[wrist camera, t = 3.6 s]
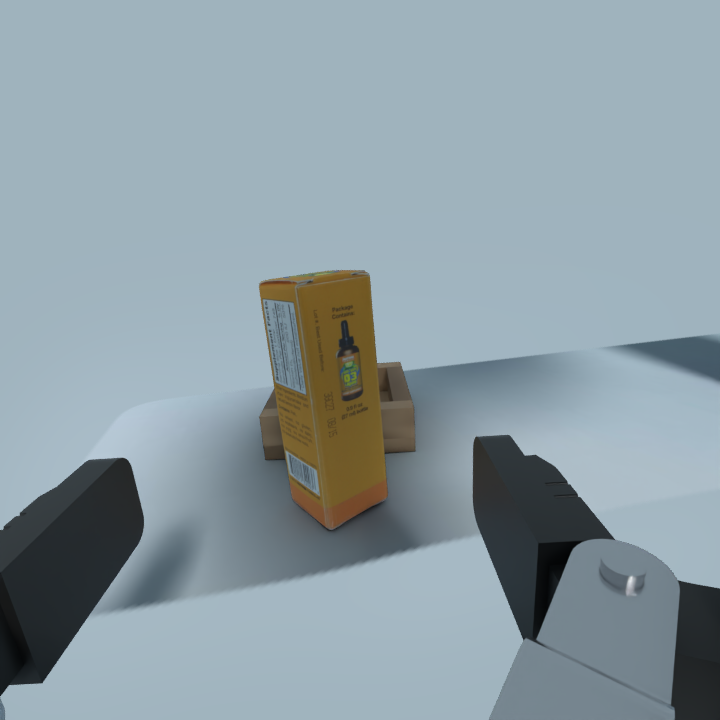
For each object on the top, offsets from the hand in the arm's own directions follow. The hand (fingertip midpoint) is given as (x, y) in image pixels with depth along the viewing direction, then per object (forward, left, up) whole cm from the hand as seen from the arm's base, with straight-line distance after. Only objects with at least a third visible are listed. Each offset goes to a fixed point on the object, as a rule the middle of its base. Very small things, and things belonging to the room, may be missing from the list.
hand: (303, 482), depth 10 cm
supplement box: (0, -8, -6) cm, 10 cm away
